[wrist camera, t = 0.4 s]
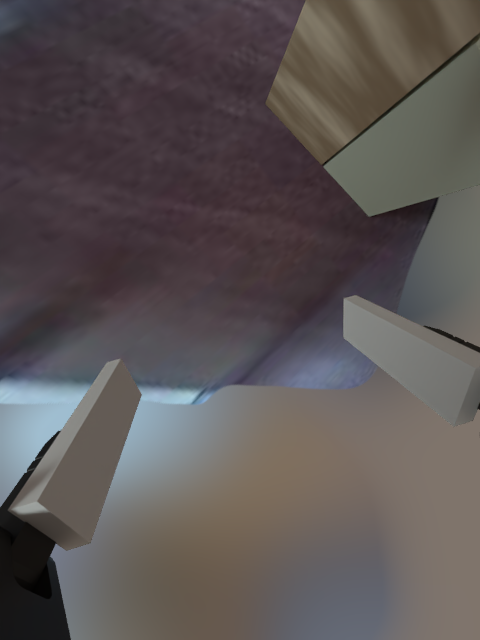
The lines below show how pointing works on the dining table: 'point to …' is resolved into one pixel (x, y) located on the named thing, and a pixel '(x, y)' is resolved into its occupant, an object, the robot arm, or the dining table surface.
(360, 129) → the tall stand
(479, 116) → the sage green pillar
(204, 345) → the dining table surface
